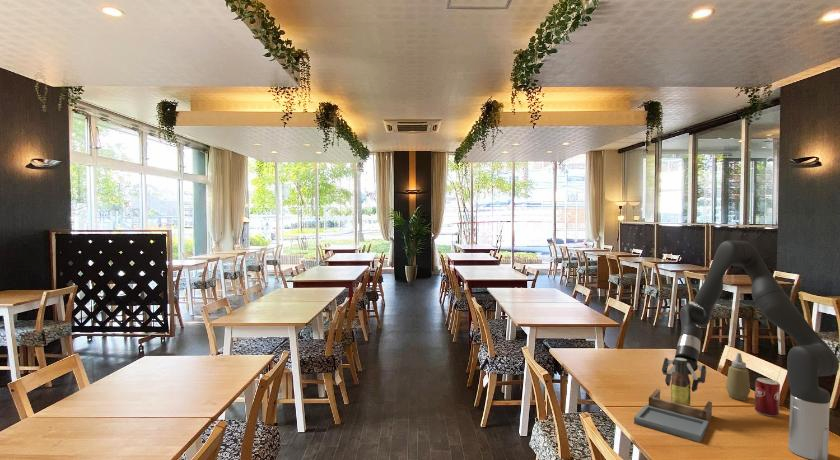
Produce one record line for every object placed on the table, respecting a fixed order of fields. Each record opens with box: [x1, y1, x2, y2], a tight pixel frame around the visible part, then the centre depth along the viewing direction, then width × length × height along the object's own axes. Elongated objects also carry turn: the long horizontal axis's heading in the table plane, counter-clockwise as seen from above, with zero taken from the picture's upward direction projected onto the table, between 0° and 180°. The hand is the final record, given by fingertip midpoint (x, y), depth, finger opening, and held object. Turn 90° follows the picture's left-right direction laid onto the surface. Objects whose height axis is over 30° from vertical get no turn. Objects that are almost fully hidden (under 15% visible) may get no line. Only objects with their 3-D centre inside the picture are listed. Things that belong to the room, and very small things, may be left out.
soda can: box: [754, 377, 781, 417], centre depth 169 cm, size 7×7×12 cm
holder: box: [648, 389, 713, 422], centre depth 168 cm, size 18×11×5 cm, turn 49°
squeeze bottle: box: [725, 352, 751, 401], centre depth 183 cm, size 8×8×18 cm
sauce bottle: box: [670, 357, 692, 407], centre depth 168 cm, size 6×6×20 cm
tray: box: [633, 404, 709, 443], centre depth 158 cm, size 20×14×2 cm
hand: (680, 387), depth 168 cm, fingers open, 7 cm apart
